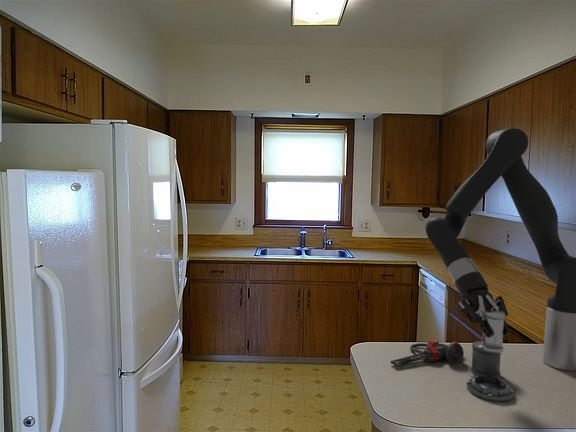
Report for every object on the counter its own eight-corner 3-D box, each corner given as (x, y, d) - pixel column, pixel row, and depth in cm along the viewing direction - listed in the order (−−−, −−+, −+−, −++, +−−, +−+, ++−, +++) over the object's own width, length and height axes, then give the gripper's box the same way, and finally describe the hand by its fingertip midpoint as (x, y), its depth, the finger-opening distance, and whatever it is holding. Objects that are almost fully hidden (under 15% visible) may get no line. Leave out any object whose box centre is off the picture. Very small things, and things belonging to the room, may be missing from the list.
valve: (438, 349, 140) (474, 360, 126) (375, 365, 130) (406, 379, 116) (436, 330, 140) (471, 339, 127) (373, 345, 130) (404, 356, 116)
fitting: (491, 344, 110) (494, 308, 109) (507, 352, 105) (510, 314, 105) (476, 346, 109) (478, 309, 108) (492, 354, 104) (494, 316, 103)
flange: (489, 378, 115) (490, 371, 115) (523, 398, 104) (524, 390, 104) (457, 384, 111) (458, 376, 111) (489, 405, 101) (490, 396, 101)
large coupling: (486, 366, 123) (487, 340, 122) (506, 377, 116) (507, 349, 115) (465, 368, 121) (466, 342, 120) (483, 380, 113) (485, 352, 113)
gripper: (453, 271, 110) (485, 331, 100) (495, 269, 115) (530, 325, 104) (439, 286, 116) (468, 344, 105) (479, 283, 120) (511, 338, 110)
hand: (499, 334), depth 105 cm, fingers closed on fitting, 4 cm apart
